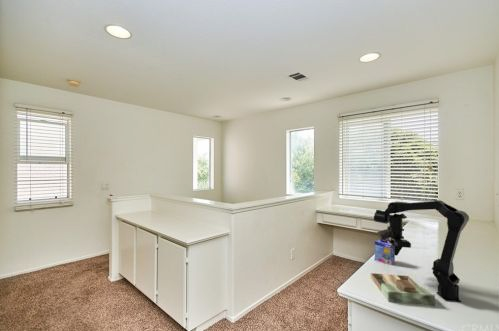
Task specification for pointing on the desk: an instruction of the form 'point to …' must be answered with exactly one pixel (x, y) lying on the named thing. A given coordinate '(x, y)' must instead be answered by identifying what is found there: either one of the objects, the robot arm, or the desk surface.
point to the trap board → (393, 294)
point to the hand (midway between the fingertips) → (395, 255)
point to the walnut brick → (405, 286)
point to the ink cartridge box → (384, 252)
